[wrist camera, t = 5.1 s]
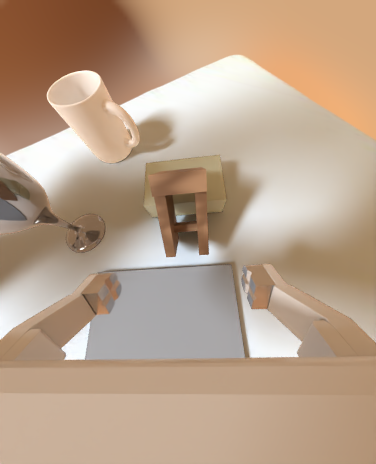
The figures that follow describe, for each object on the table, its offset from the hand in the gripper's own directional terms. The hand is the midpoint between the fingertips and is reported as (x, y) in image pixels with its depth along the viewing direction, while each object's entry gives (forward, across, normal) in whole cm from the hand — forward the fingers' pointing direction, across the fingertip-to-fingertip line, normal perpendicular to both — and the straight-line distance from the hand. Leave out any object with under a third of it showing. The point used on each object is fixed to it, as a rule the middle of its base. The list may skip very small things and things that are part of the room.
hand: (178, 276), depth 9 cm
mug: (+27, +13, -10) cm, 32 cm away
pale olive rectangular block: (+18, 0, -1) cm, 18 cm away
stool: (+14, 0, +3) cm, 14 cm away
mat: (+5, +4, +12) cm, 14 cm away
